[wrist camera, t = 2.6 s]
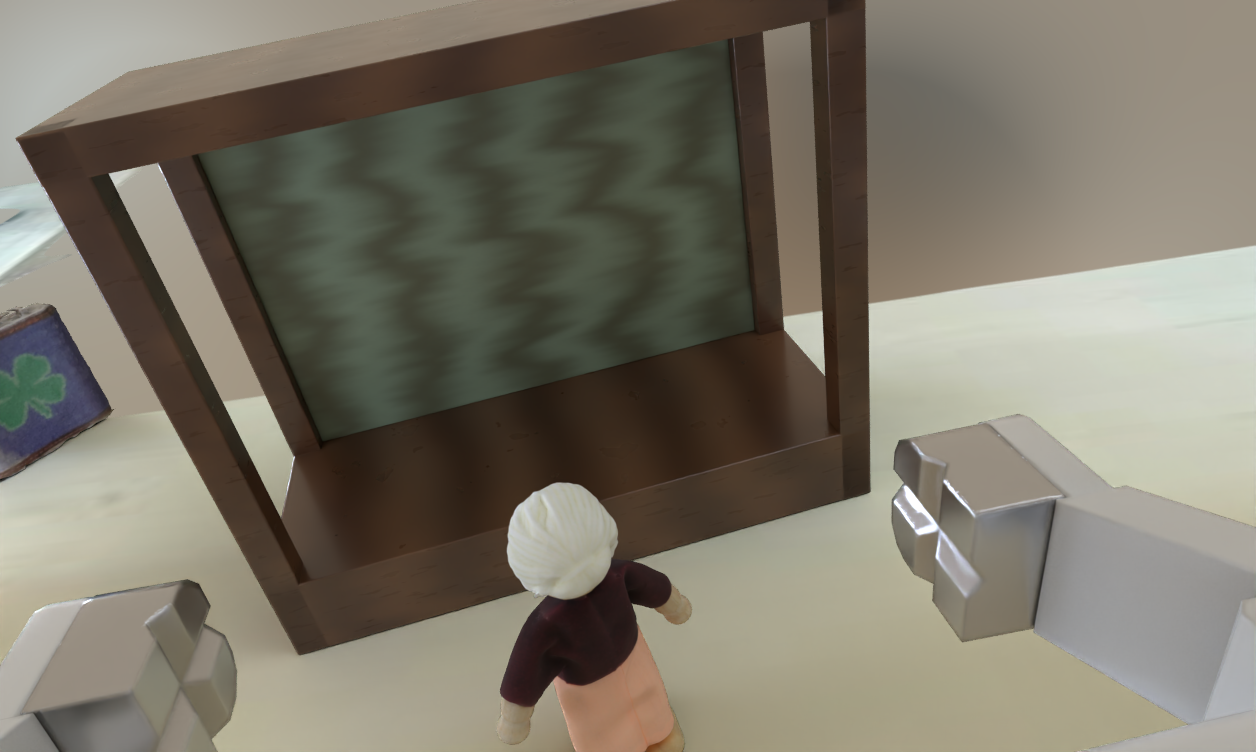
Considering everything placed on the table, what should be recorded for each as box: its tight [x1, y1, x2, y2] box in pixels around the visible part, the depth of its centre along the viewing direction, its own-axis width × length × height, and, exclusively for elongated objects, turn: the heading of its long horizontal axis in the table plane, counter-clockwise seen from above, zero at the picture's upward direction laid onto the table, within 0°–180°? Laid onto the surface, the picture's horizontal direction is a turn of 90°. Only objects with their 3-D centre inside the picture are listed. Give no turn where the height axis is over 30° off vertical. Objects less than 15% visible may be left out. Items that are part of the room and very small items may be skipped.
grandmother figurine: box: [497, 483, 692, 752], centre depth 27 cm, size 8×4×13 cm, turn 140°
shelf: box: [16, 0, 870, 655], centre depth 38 cm, size 28×12×24 cm, turn 103°
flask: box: [0, 303, 114, 479], centre depth 56 cm, size 9×3×11 cm, turn 151°
